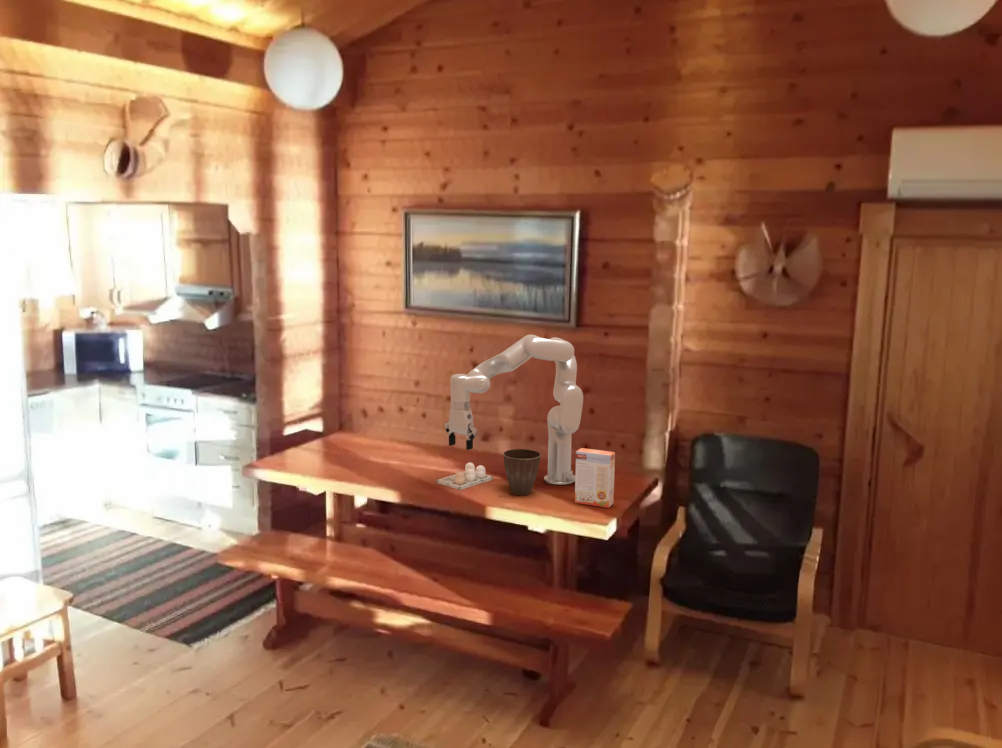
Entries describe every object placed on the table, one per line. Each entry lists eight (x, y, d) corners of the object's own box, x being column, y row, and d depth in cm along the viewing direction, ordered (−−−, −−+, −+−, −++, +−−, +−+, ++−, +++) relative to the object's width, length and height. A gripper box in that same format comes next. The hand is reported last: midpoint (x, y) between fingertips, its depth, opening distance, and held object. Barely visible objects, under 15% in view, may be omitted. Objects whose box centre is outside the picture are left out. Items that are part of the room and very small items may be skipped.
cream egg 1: (476, 476, 364) (476, 462, 363) (470, 478, 361) (470, 464, 360) (469, 474, 367) (469, 460, 366) (463, 476, 364) (463, 462, 363)
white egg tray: (492, 481, 361) (492, 476, 360) (459, 492, 346) (459, 486, 346) (469, 475, 369) (469, 470, 369) (436, 485, 355) (436, 479, 355)
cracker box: (613, 504, 334) (615, 451, 331) (608, 508, 329) (610, 455, 325) (579, 498, 341) (581, 446, 337) (574, 503, 335) (575, 450, 332)
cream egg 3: (487, 479, 360) (487, 465, 359) (480, 481, 357) (480, 467, 356) (480, 477, 363) (480, 463, 362) (473, 479, 360) (473, 465, 359)
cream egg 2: (477, 482, 356) (477, 468, 355) (470, 484, 353) (470, 470, 352) (470, 480, 359) (470, 466, 357) (463, 482, 356) (463, 468, 355)
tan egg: (466, 485, 351) (466, 471, 350) (459, 488, 348) (460, 473, 347) (459, 483, 354) (459, 469, 353) (452, 485, 351) (452, 471, 350)
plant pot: (539, 487, 354) (540, 449, 352) (540, 498, 340) (541, 459, 337) (502, 486, 354) (503, 448, 352) (502, 498, 340) (503, 458, 337)
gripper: (482, 406, 343) (483, 449, 346) (451, 400, 354) (452, 441, 357) (469, 410, 337) (470, 452, 340) (438, 403, 348) (439, 445, 351)
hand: (460, 447), depth 349 cm, fingers open, 9 cm apart
